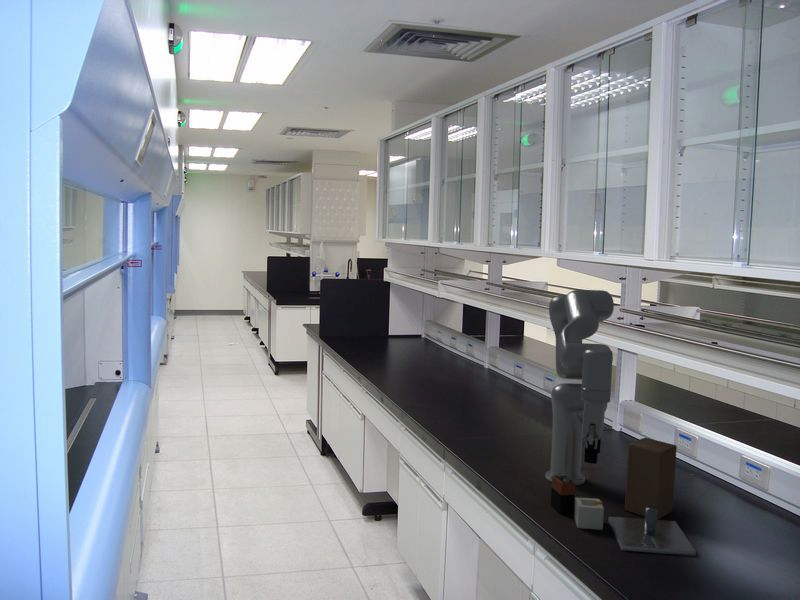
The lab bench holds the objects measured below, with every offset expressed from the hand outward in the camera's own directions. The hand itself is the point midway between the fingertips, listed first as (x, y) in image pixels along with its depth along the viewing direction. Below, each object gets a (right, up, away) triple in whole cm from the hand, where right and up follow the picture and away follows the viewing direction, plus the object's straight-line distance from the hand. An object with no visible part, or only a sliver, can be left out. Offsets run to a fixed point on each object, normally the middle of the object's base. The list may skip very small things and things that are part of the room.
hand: (592, 457), depth 185 cm
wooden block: (+21, -19, +15) cm, 32 cm away
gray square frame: (0, -20, +5) cm, 20 cm away
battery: (-5, -19, +15) cm, 24 cm away
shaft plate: (+15, -21, -2) cm, 25 cm away
